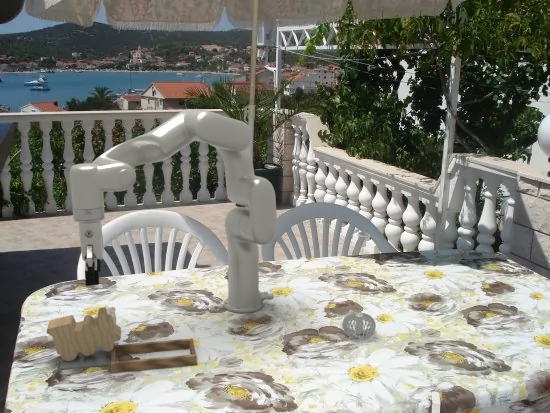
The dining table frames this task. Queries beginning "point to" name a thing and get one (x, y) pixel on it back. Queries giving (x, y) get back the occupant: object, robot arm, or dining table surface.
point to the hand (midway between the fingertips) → (93, 278)
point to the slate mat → (89, 359)
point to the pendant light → (359, 315)
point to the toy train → (83, 334)
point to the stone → (110, 311)
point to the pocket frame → (153, 362)
